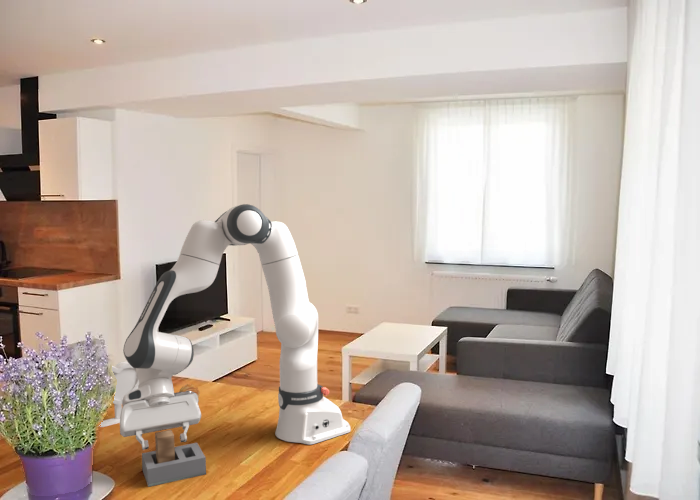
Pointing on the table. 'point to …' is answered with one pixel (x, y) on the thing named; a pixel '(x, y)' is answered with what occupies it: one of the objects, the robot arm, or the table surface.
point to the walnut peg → (164, 446)
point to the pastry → (190, 389)
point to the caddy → (174, 465)
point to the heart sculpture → (122, 388)
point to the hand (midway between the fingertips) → (165, 444)
